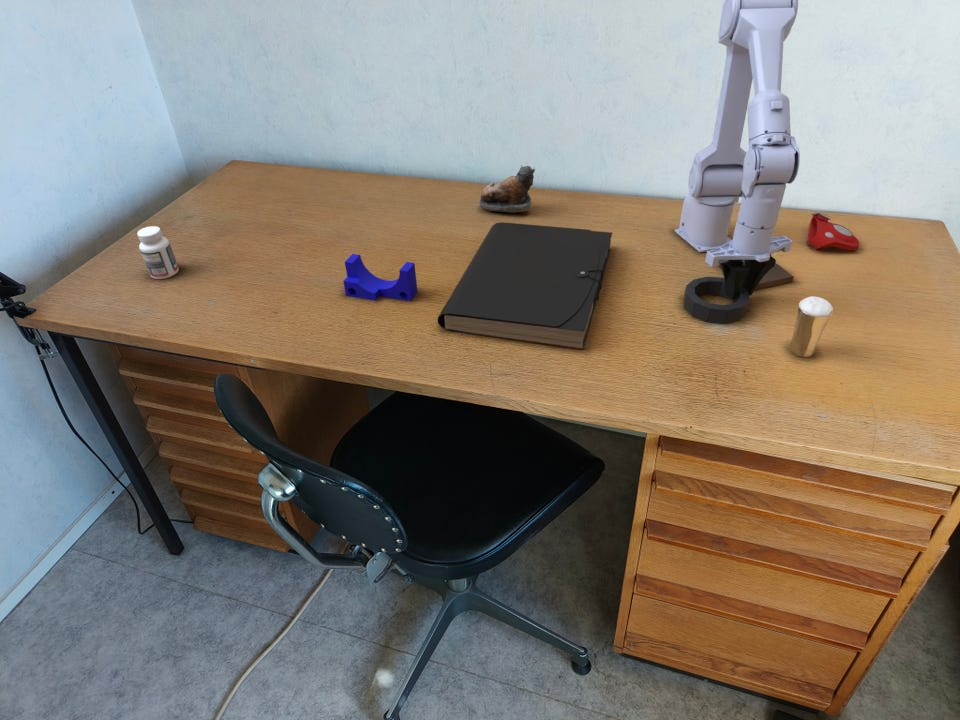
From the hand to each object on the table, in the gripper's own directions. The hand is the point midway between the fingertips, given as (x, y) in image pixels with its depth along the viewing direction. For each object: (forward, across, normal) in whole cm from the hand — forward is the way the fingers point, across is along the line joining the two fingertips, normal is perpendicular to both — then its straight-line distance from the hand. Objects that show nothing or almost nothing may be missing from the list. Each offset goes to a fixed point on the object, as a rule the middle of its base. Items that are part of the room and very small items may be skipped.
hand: (738, 294), depth 111 cm
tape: (+1, -4, 0) cm, 5 cm away
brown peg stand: (+1, +8, +6) cm, 11 cm away
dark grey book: (+2, -31, +16) cm, 35 cm away
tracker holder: (+2, +29, +12) cm, 32 cm away
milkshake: (+2, +1, -16) cm, 16 cm away
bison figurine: (+2, -25, +48) cm, 54 cm away
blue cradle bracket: (+2, -57, +24) cm, 61 cm away
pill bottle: (+2, -95, +46) cm, 105 cm away
